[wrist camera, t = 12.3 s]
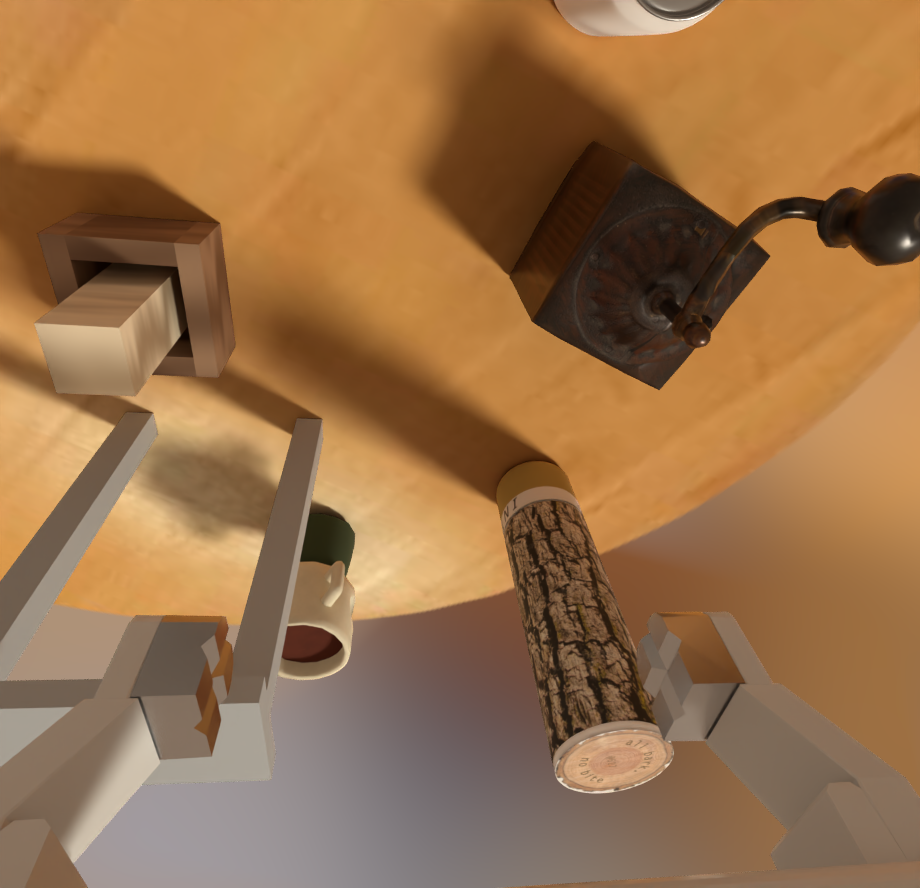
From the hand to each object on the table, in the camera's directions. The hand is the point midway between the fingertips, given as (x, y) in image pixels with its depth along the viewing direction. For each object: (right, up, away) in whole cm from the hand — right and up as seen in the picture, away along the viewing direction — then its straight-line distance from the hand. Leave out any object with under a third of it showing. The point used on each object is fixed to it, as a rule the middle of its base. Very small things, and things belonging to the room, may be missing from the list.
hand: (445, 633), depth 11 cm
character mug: (-13, -5, +43) cm, 45 cm away
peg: (-20, +15, +29) cm, 39 cm away
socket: (-20, +15, +29) cm, 39 cm away
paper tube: (+7, 0, +42) cm, 43 cm away
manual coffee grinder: (+12, +20, +30) cm, 37 cm away
